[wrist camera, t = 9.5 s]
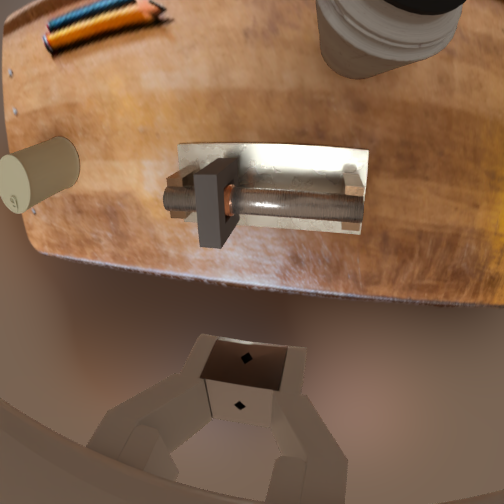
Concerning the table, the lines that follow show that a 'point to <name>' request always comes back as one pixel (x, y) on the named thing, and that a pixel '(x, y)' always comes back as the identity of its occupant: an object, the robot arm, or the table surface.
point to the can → (37, 173)
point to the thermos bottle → (383, 33)
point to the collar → (215, 201)
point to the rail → (278, 185)
